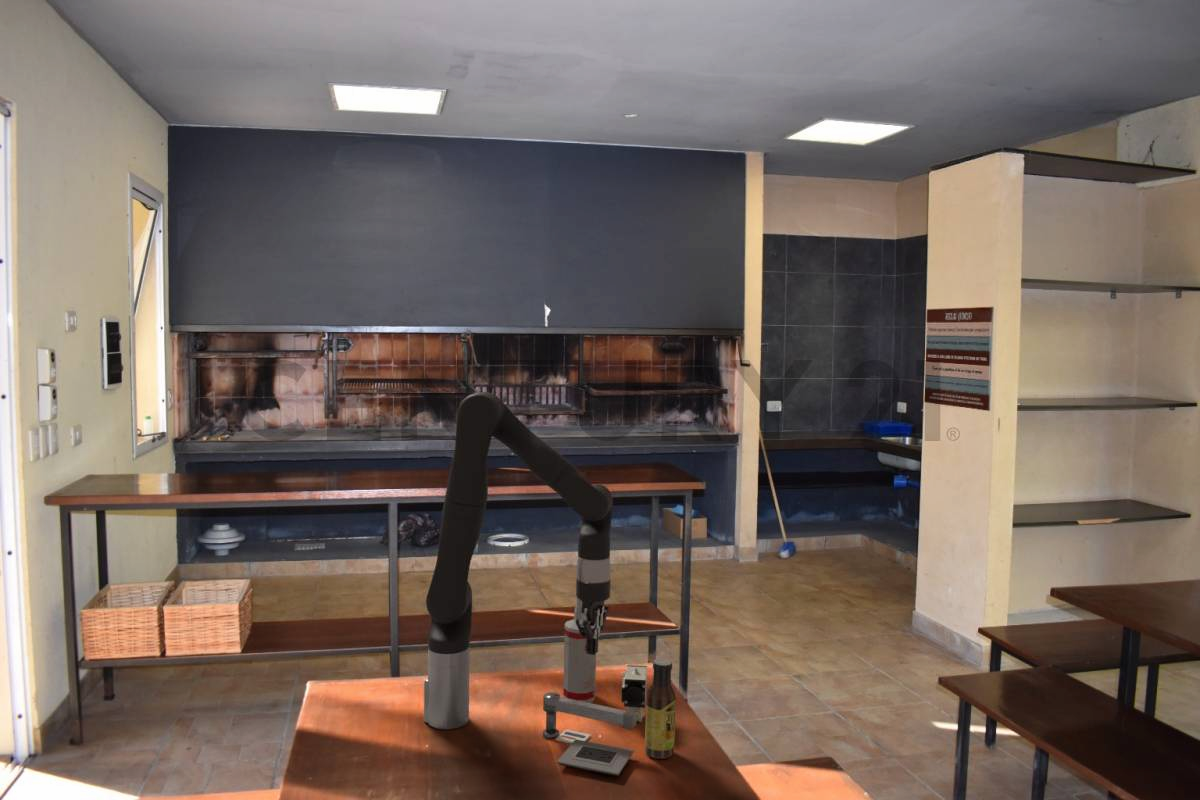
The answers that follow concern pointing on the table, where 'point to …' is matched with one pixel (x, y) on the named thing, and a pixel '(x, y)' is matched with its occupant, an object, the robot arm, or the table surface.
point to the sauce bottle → (660, 712)
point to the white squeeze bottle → (578, 663)
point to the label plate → (572, 736)
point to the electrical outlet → (595, 757)
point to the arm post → (550, 726)
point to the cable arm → (589, 710)
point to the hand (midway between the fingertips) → (592, 653)
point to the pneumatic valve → (634, 689)
